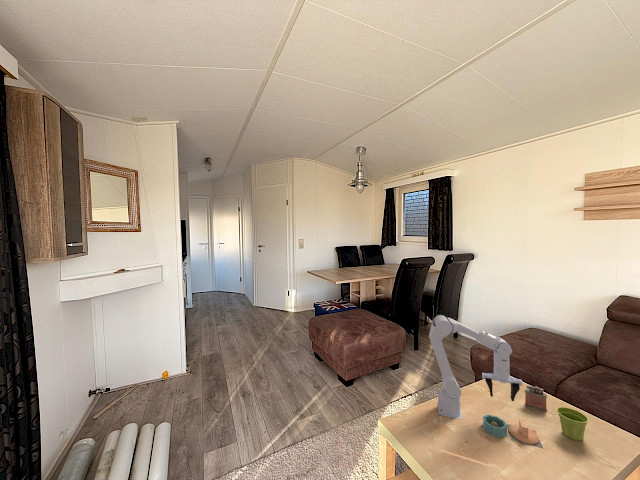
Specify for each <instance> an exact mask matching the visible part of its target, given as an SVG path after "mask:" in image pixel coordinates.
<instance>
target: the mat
mask: <svg viewBox="0 0 640 480" xmlns="http://www.w3.org/2000/svg"><path fill="white" fill-rule="evenodd" d="M506 425H507V432H508V434H509V436H510V440H511V441H513V442H515V443H516V442H517V443H521V444H524V445H528V446H530V447H531V446H532V447H535V448H540V449H545V448H544V446H543V444H542V442H541V440H540V439H539V443H538V444H534V445H531V444H526V443H523V442H521V441H519V440H517V439H516V438H514V437H513V436H512V435H511V434H510V432H509V427H510V426H511V425H512V424H509V423H506ZM531 430H532V431H533V432H535V433H536V434H537V431H536V430H533V429H531Z"/></svg>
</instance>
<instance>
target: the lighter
mask: <svg viewBox="0 0 640 480" xmlns="http://www.w3.org/2000/svg"><path fill="white" fill-rule="evenodd" d="M524 393H525V394H524V395H525V398H524V399H525V401H524V406H525V407H526V408H528V409H531V410H535V411H538V412H543V413H544V412H545V413H547V412H548V409H547V397H548V396H547V395H548V394H547V393H545V392H544V389H543V388H540V387H538V386H533V385H528V384H526V388H525V389H524Z"/></svg>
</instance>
